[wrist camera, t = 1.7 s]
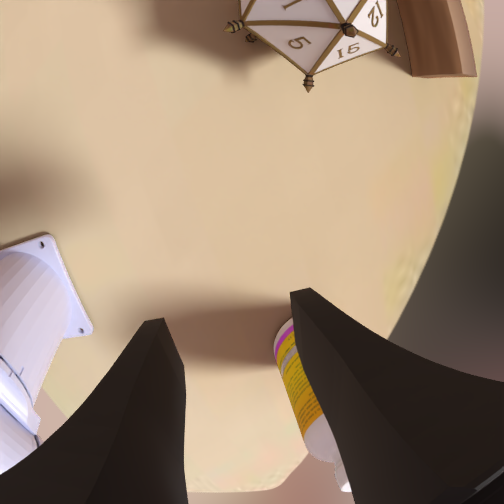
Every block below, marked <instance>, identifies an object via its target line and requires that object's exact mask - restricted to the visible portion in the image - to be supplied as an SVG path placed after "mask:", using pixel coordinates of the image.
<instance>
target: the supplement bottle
mask: <svg viewBox="0 0 504 504" xmlns="http://www.w3.org/2000/svg"><path fill="white" fill-rule="evenodd" d="M274 356H275V359H276V362H277V365H278V368H279V371H280V374H281V376H282V379H283V382H284V385H285V388H286V391H287V394H288V397H289V399H290V402H291V405H292V408H293V411H294V414H295V417H296V420H297V423H298V425H299V428H300V431H301V434H302V437H303V440H304V443H305V445H306V448H307V450H308V451H309V453H310V454H311V455H312V456H313V457H315V458H317V459H319V460H321V461H325V462H334V464H335V466H336V467H335V478H336V480H337V483H338V485H339V488H340V490H342V491H344V492H352V491H351V488H350V484H349V481H348V478H347V475H346V471H345V468H344V465H343V462H342V459H341V456H340V453H339V450H338V447H337V444H336V441H335V438H334V436H333V433H332V431H331V428H330V426H329V424H328V422H327V420H326V418H325V416H324V413H323V411H322V409H321V407H320V405H319V403H318V401H317V398H316V396H315V394H314V392H313V390H312V388H311V386H310V383H309V381H308V379H307V377H306V375H305V372H304V370H303V367H302V364H301V361H300V358H299V354H298V351H297V348H296V345H295V337H294V328H293V318H291V319H289V320H288V321H287V322H286V323H285V324H284V325H283V326H282V327H281V329H280V330H279V332H278V334H277V336H276V338H275V341H274Z"/></svg>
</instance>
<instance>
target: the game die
mask: <svg viewBox="0 0 504 504" xmlns="http://www.w3.org/2000/svg"><path fill="white" fill-rule="evenodd" d="M238 5H239V21H234V20H233V22H231V23H230V22H228V25H227V26H226V28H225V29H224V30H223V31H224V32H231V33H234V32H236V31H238V30H240V28H242V27H243V28H245V29H246V30H247V31H249V32H250V34H248V35H247V36H246V41H245V42H254V40H256V38H259V39H260V40H262V41H263V42H264V43H266V44H267V45H268V46H270V47H271V48H272V49H274V50H275V51H276V52H278V53H279V54H280V55H282V56H283V57H284V58H285V59H287V60H288V61H289V62H291V63H292V64H293V65H294V66H296V67H297V68H298V69H299V70H300V71H302V72H303V73H304V74H305V75H306V77H305V79H304V80H303V81H304V84H303V85H304V87H305V88H306V90H307V92H308V93H309V91H310V90H311V88H312V87H313V86H314V85H313V82H314V81H313V78H312V77H313V75H315V74H317V73H320V72H322V71H324V70H327V69H329V68H332V67H334V66H337V65H339V64H342V63H344V62H347V61H349V60H352V59H355V58H357V57H360V56H363V55H366V54H368V53H371V52H374V51H377V50H380V49H383V48H384V49H386V50H387V53H390V54H391V56H397V57H401V56H400V54H399V52H398V48H395V47H394V46H393V45H392V46H391V45H389V44H388V0H238Z"/></svg>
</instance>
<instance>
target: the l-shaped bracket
mask: <svg viewBox="0 0 504 504" xmlns="http://www.w3.org/2000/svg"><path fill="white" fill-rule="evenodd" d="M397 4H398V7H399V11H400V15H401V19H402V23H403V28H404V32H405V37H406V42H407V47H408V52H409V58H410V64H411V70H412V77H421V78H442V77H477V73H476V66H475V60H474V55H473V49H472V44H471V39H470V35H469V30H468V26H467V22H466V18H465V15H464V11H463V7H462V4H461V1H460V0H397Z"/></svg>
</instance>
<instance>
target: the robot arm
mask: <svg viewBox="0 0 504 504" xmlns="http://www.w3.org/2000/svg"><path fill="white" fill-rule="evenodd" d="M41 241H42V242H43V243H44V246H42V245H41ZM290 299H291V308H292V318H293V328H294V337H295V345H296V348H297V351H298V354H299V358H300V361H301V364H302V367H303V370H304V372H305V375H306V377H307V379H308V381H309V383H310V386H311V388H312V390H313V392H314V394H315V396H316V398H317V401H318V403H319V405H320V407H321V409H322V411H323V413H324V416H325V418H326V420H327V422H328V424H329V426H330V428H331V431H332V433H333V436H334V438H335V441H336V444H337V447H338V450H339V453H340V456H341V459H342V462H343V465H344V468H345V471H346V475H347V478H348V481H349V484H350V488H351V491H352V494H353V498H354V501H355V504H504V382H500V381H495V380H491V379H487V378H483V377H478V376H474V375H471V374H467V373H464V372H460V371H457V370H454V369H452V368H449V367H446V366H443V365H440V364H438V363H435V362H432V361H430V360H428V359H425V358H423V357H421V356H418V355H416V354H414V353H412V352H410V351H407V350H406V349H404V348H401V347H399V346H397V345H396V344H393V343H392V342H390V341H388V340H386V339H385V338H383V337H381V336H379V335H378V334H376V333H374V332H373V331H371V330H369V329H368V328H366V327H365V326H363V325H362V324H360V323H359V322H357V321H356V320H354V319H353V318H351V317H350V316H348V315H347V314H345V313H344V312H343V311H341V310H340V309H338V308H337V307H336V306H334V305H333V304H332V303H330V302H329V301H328V300H326V299H325V298H324V297H322V296H321V295H320V294H318V293H317V292H316V291H314V290H313V289H311V288H306V289H302V290H297V291H293V292H290ZM80 328H82V329H83V330H81V329H80ZM93 329H94V328H93V325H92V323H91V321H90V320H89V318H88V316H87V314H86V312H85V310H84V308H83V305H82V303H81V301H80V299H79V297H78V295H77V293H76V291H75V288H74V286H73V284H72V282H71V279H70V277H69V275H68V272H67V270H66V268H65V265H64V263H63V260H62V258H61V255H60V253H59V250H58V248H57V245H56V242H55V240H54V238H53V237H52V236H51V235H49V234H46V235H43V236H40V237H37V238H34V239H31V240H28V241H25V242H22V243H19V244H17V245H14V246H11V247H8V248H5V249H3V250H0V504H188V498H187V490H186V482H185V473H184V432H185V409H186V385H185V372H184V365H183V362H182V360H181V358H180V356H179V353H178V351H177V349H176V346H175V344H174V342H173V339H172V337H171V334H170V332H169V330H168V327H167V325H166V322H165V320H164V318H160V319H154V320H148V321H144V323H143V324H142V325H141V327H140V328H139V329H138V331H137V332H136V333H135V335H134V336H133V338H132V339H131V340H130V342H129V343H128V345H127V346H126V348H125V349H124V350H123V352H122V353H121V354H120V356H119V357H118V359H117V360H116V361H115V363H114V364H113V366H112V367H111V368H110V370H109V371H108V372H107V374H106V375H105V376H104V377H103V379H102V380H101V381H100V383H99V384H98V385H97V386H96V388H95V389H94V390H93V392H92V393H91V394H90V395H89V397H88V398H87V399H86V400H85V401H84V402H83V404H82V405H81V406H80V407H79V408H78V409H77V410H76V411H75V412H74V414H73V415H72V416H71V417H70V418H69V419H68V420H67V421H66V422H65V423H64V424H63V425H62V426H61V427H60V428H59V429H58V430H57V431H56V432H54V433H53V434H52V435H51V436H50V437H49V438H48V439H47V440H46V441H45V442H44V441H43V440H42V439H41V437H40V436H39V435H37V434H36V433H37V430H38V427H39V424H40V420H41V419H40V417H39V416H38V415H37V414H36V413H35V411H34V410H33V406H34V403H35V400H36V398H37V396H38V393H39V391H40V388H41V386H42V383H43V381H44V378H45V376H46V373H47V371H48V369H49V366H50V364H51V362H52V360H53V357H54V355H55V353H56V351H57V349H58V346H59V344H60V342H61V340H62V339H65V338H72V337H79V336H85V335H90V334H92V332H93Z"/></svg>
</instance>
